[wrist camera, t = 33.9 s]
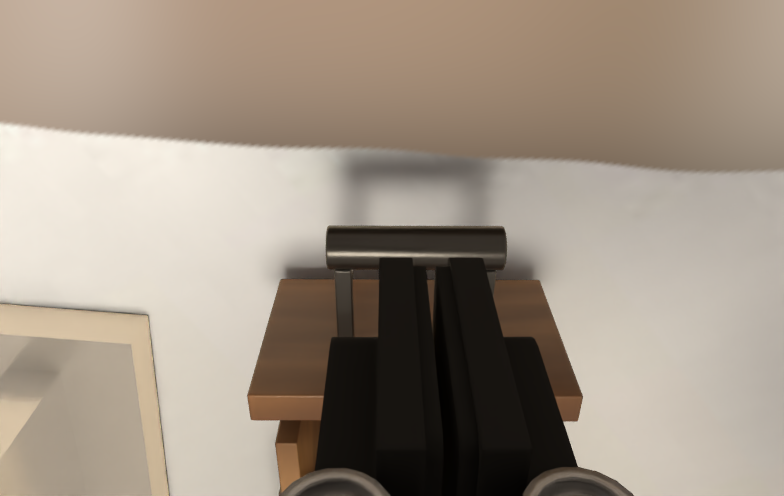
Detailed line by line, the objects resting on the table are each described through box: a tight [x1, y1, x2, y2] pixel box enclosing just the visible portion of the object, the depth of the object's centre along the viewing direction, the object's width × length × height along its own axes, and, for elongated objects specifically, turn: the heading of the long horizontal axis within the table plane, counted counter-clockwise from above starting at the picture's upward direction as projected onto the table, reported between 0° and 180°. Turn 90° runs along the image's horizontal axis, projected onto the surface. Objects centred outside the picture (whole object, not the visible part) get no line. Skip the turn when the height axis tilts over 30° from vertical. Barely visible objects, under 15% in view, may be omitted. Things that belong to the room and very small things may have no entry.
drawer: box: [247, 226, 583, 493], centre depth 26 cm, size 18×11×7 cm, turn 0°
